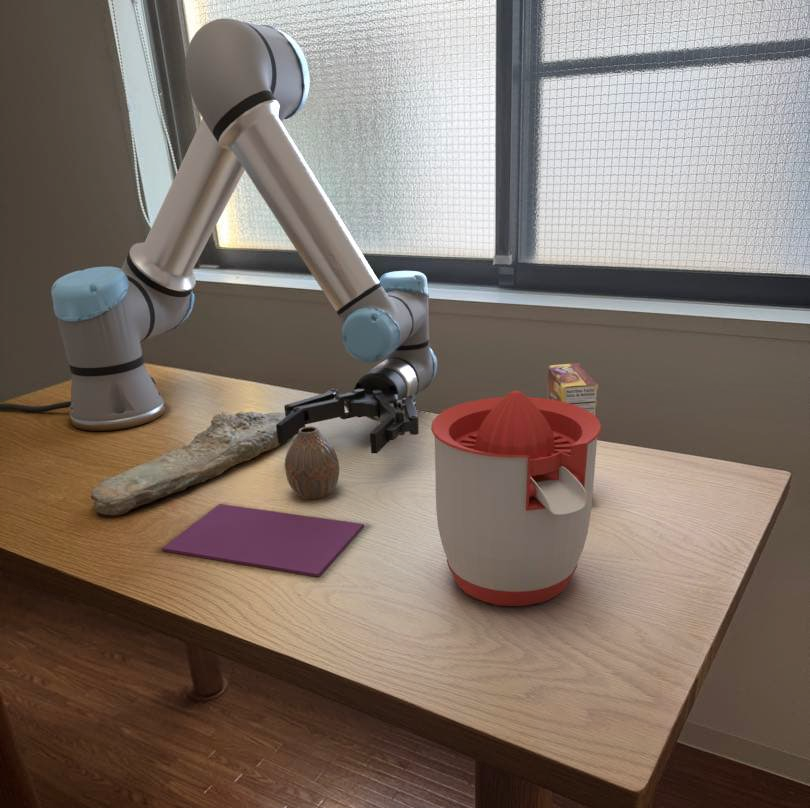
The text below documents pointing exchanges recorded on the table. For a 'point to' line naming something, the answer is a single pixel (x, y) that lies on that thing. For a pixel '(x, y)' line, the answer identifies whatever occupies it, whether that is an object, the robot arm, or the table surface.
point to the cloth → (266, 539)
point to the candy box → (572, 386)
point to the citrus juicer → (514, 494)
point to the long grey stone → (189, 462)
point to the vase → (311, 465)
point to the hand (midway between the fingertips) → (325, 439)
